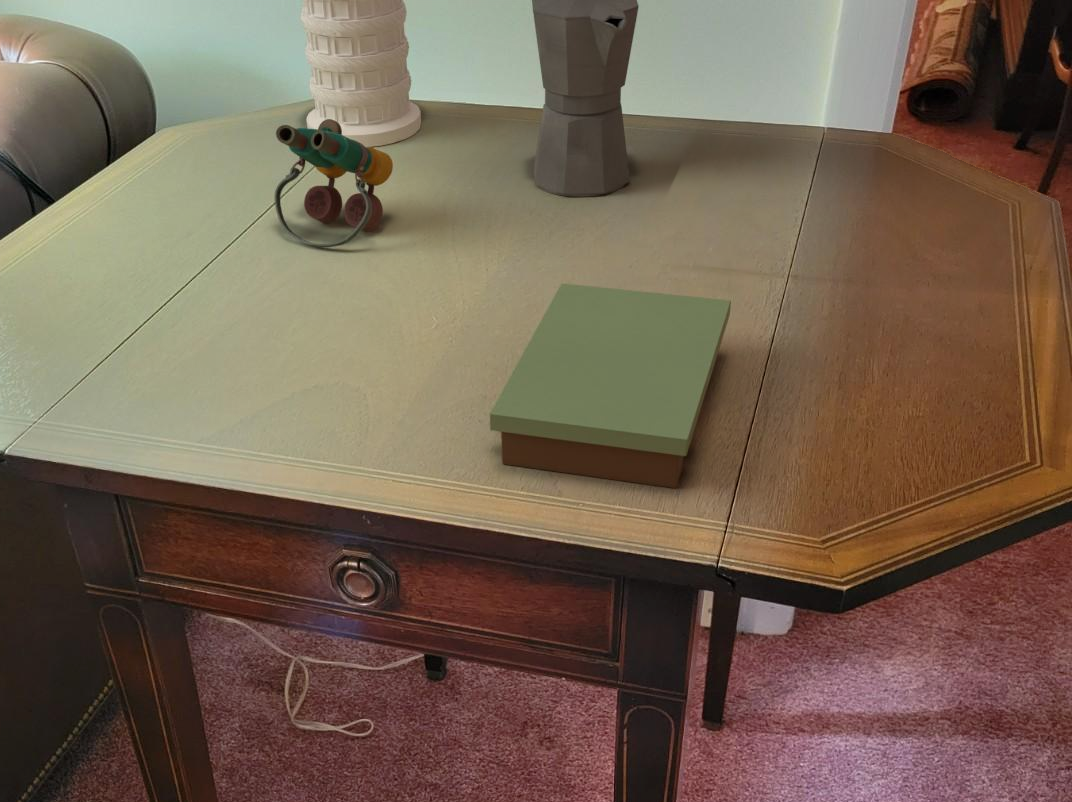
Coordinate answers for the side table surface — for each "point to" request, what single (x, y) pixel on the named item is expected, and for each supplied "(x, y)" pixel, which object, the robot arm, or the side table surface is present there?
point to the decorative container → (360, 69)
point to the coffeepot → (583, 94)
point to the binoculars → (335, 176)
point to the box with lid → (611, 384)
